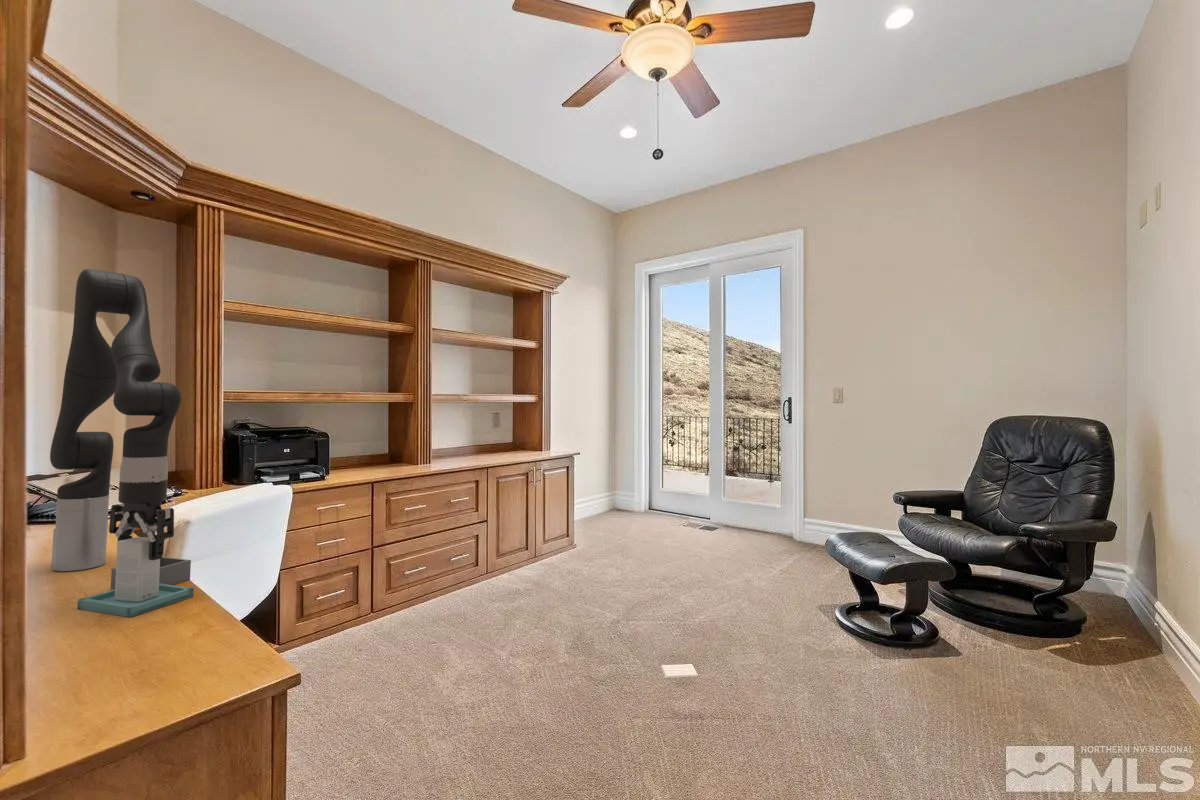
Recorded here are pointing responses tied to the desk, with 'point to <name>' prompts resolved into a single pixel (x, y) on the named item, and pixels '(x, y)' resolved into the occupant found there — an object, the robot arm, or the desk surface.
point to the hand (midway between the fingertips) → (139, 557)
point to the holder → (167, 571)
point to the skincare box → (136, 571)
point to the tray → (130, 609)
